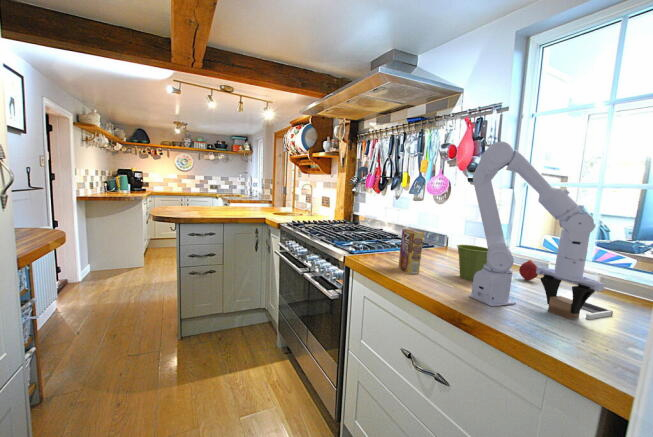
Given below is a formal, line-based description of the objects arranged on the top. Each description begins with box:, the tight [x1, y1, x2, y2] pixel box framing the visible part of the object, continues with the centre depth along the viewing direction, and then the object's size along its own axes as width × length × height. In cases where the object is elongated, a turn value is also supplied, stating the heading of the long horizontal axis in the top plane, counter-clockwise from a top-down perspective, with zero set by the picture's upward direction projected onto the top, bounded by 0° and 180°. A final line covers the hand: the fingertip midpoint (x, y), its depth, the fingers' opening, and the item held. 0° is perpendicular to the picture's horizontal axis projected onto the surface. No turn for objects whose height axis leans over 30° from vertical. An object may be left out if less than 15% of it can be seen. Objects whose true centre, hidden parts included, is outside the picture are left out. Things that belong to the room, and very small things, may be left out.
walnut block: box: [547, 295, 580, 320], centre depth 77 cm, size 4×5×4 cm
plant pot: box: [456, 244, 488, 282], centre depth 104 cm, size 12×12×11 cm
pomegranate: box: [518, 258, 539, 282], centre depth 107 cm, size 6×6×8 cm
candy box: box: [397, 228, 425, 275], centre depth 109 cm, size 9×4×15 cm, turn 13°
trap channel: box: [581, 301, 614, 320], centre depth 80 cm, size 11×8×1 cm
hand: (562, 308), depth 77 cm, fingers closed on walnut block, 5 cm apart
